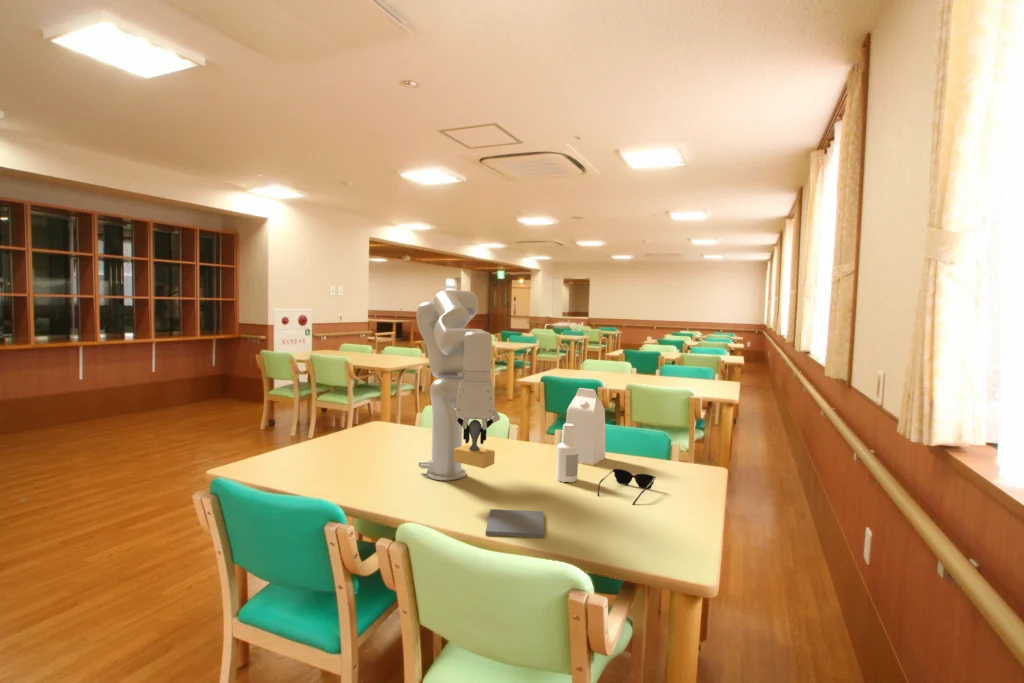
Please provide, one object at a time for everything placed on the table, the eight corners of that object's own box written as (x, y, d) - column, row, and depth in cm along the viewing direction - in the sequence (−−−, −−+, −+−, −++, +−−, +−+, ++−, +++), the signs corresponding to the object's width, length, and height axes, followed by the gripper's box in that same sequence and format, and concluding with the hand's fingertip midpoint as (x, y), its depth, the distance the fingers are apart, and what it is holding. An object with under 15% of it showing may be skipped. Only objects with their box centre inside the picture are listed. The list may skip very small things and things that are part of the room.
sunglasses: (655, 491, 161) (655, 475, 160) (638, 510, 147) (638, 493, 147) (613, 482, 168) (613, 467, 168) (592, 500, 155) (592, 483, 154)
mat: (485, 535, 125) (485, 531, 125) (490, 512, 139) (490, 509, 139) (543, 537, 125) (544, 533, 125) (543, 514, 139) (543, 511, 139)
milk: (605, 458, 195) (608, 388, 193) (592, 465, 185) (595, 392, 183) (576, 452, 201) (578, 385, 199) (562, 459, 191) (564, 389, 190)
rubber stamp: (453, 461, 144) (454, 419, 143) (465, 456, 149) (466, 415, 148) (483, 468, 140) (485, 424, 138) (494, 463, 144) (496, 420, 143)
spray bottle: (576, 484, 164) (578, 427, 163) (554, 482, 166) (556, 426, 165) (578, 477, 171) (579, 423, 170) (557, 475, 172) (558, 421, 171)
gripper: (444, 377, 139) (442, 444, 141) (506, 380, 138) (503, 447, 140) (448, 373, 147) (447, 437, 148) (507, 375, 146) (505, 440, 147)
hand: (474, 441), depth 144 cm, fingers closed on rubber stamp, 3 cm apart
